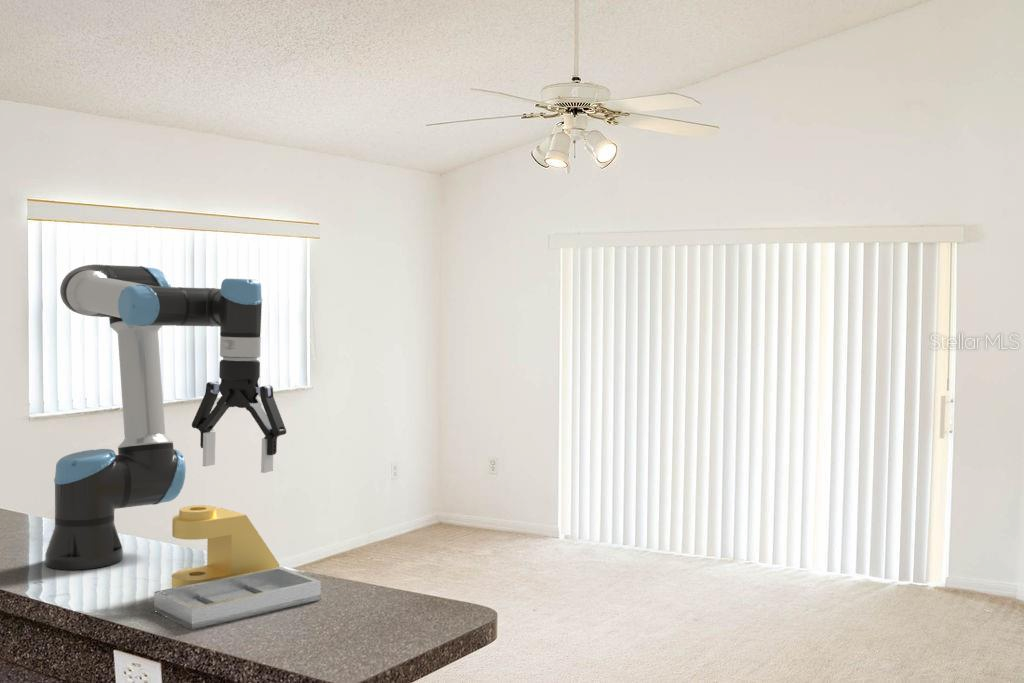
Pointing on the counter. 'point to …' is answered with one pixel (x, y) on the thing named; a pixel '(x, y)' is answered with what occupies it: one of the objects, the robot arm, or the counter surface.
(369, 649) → the counter surface
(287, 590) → the tray
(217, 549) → the yellow mounting bracket
